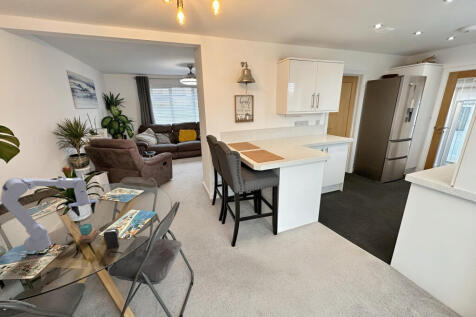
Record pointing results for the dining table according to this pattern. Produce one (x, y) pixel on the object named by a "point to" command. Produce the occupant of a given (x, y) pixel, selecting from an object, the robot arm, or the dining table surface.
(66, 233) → the dining table surface
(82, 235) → the tower top
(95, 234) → the tower base
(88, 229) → the teal block
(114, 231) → the battery
